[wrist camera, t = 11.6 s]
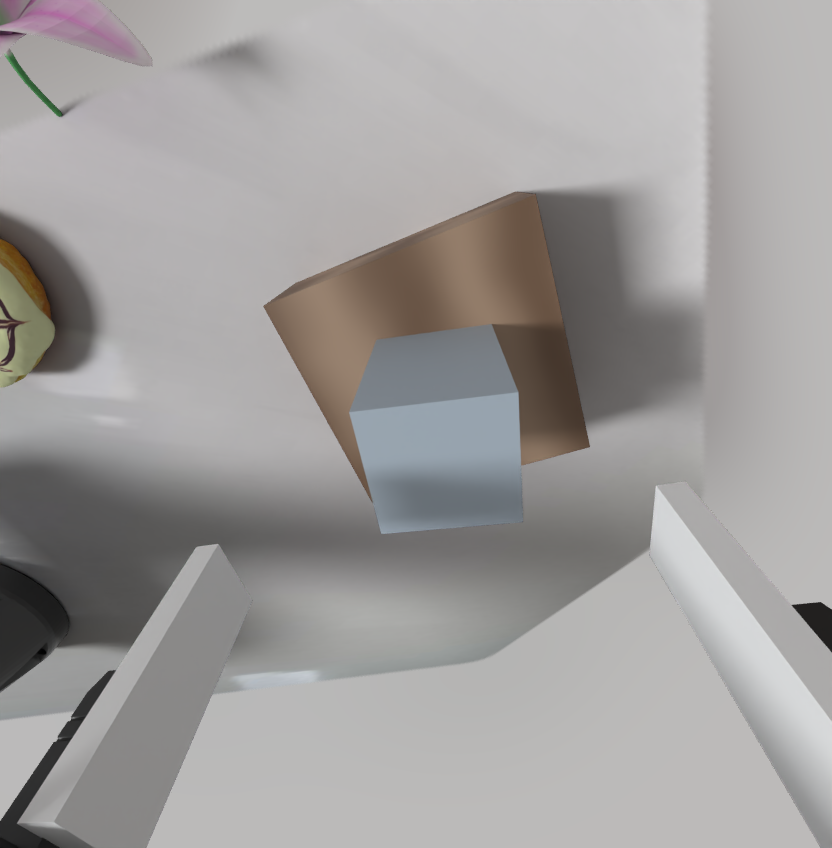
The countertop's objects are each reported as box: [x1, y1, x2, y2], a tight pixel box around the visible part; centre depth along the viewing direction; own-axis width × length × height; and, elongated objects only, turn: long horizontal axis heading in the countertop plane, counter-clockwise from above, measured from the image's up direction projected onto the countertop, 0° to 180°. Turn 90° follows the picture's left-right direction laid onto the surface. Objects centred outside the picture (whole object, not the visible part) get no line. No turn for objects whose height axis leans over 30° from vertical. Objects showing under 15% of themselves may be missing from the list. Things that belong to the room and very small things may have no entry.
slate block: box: [349, 324, 523, 534], centre depth 20 cm, size 6×6×8 cm
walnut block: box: [263, 192, 590, 503], centre depth 26 cm, size 14×14×6 cm
